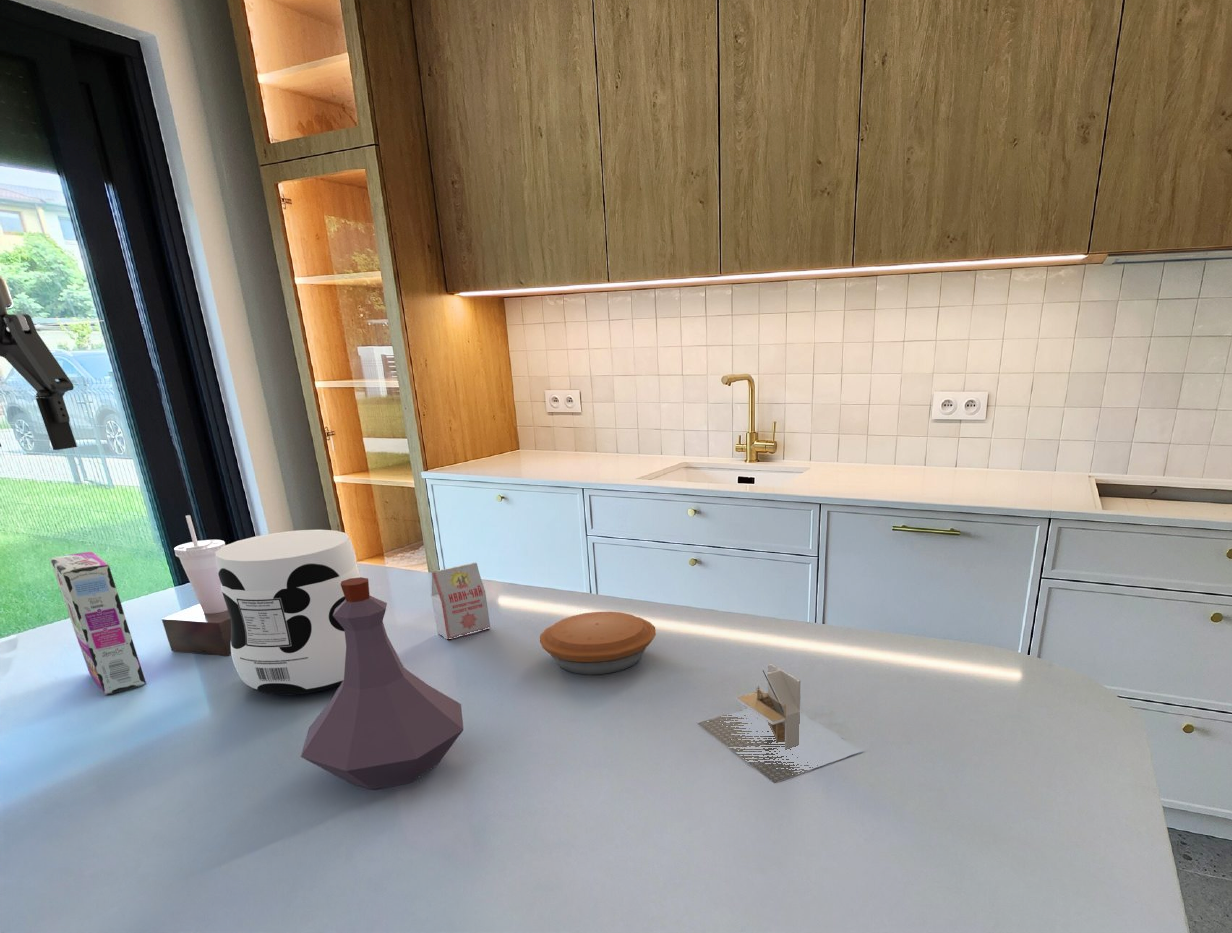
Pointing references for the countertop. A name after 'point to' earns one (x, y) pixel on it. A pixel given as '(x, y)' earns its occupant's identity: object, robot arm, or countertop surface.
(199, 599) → the smoothie
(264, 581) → the milk container
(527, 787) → the countertop surface
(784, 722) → the architectural model
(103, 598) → the candy bar box
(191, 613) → the walnut block
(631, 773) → the countertop surface
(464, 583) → the tea bag
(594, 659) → the pie
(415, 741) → the flask
